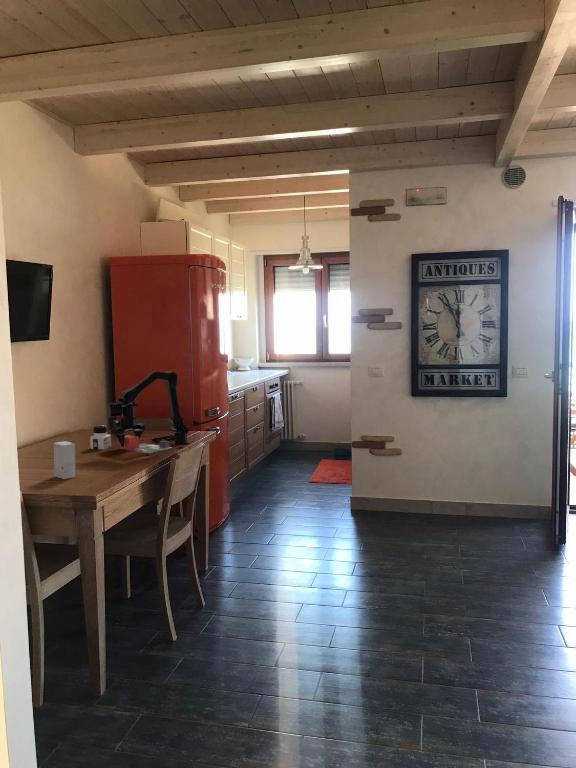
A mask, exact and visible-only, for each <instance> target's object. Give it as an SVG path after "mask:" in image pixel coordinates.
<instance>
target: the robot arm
mask: <svg viewBox="0 0 576 768" xmlns="http://www.w3.org/2000/svg"><path fill="white" fill-rule="evenodd" d="M157 379H158V380H162V381H163V384H164V386H165V388H166V390H167V397H168V403H169V410H170V417H167V422H168V426H169V428H170V429H171V430H172V432H173V433H174V436H173V437H174V439H173V440H174V441H173V443H172V445H179V446H184V445H187V444H190V441H188V434H189V431H190V429H189V428H188V427H187V426H186V425H185V422H184V419H183V417H182V415H181V413H180V407H179V400H178V393H177V385H178V375H177V373H176V372H173V371H164V372H161V371H158V370H153V371H151V372H150V373H148V374H147V375H146V376H145V377H144V378H142V379H141V380H140V381H138V382H137V383H136V384H134V385H133V386H131V387H129V388H126V389H125V390H123V391H122V392H120V394H119V395H120V397H119V398H118V400H117V401H116V403H107V408H106V415H107V417H108V418H117V417H120V420H113V421H112V427H113V428H111V429H110V435H111V434H112V435H113V436H115V437H116V438H117V440H118V442H119V445H120V444H121V447H124V440H125V436H126V434H125V432H129V431H133V433H134V436H139V440H140V439H141V437H142V435H143V433H144V432H145V430H147V426H146V424H145V423H135V420H137V417H136V416H135V407H138V406H139V405H138V404H137V403H136V402H135V400H136V399H137V398H138V397H139V394H140V393H141V392H142V391H144V389H145V390H146V388H148V386H150V385H152V383H154V382H155V381H156V380H157ZM121 416H122V417H121Z"/></svg>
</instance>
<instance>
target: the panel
mask: <svg viewBox="0 0 576 768" xmlns="http://www.w3.org/2000/svg"><path fill="white" fill-rule="evenodd" d="M125 450H126V449H123V451H125ZM126 451H127V450H126ZM130 451H131V452H138V453H143V454H145V455H144V456H145V457H151V456H155V455H161V454H164V453H169V452H173V451H174V448H173V447H172V446H169V447H167V448H162V447H160V444H149V443H139V448H135V449H132V450H130Z"/></svg>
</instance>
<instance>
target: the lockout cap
mask: <svg viewBox="0 0 576 768" xmlns="http://www.w3.org/2000/svg"><path fill="white" fill-rule="evenodd" d="M139 441H140V439H139V436H135V435H130V434H127V435H125V440H124V447H121V444H120V443H119V449H120V450H124V449H126V451H131V450H132V449H135V448H139V444H140V442H139Z"/></svg>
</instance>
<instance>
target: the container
mask: <svg viewBox="0 0 576 768" xmlns="http://www.w3.org/2000/svg"><path fill="white" fill-rule="evenodd" d="M107 431H108V429H107V426H106V425H103V424H100V425H99V424H98V425H95V426H93V435H92V436H90V437H89V442H90V443H89V444H90V449H91V450H106V449H108V448H110V447H112V438H111V436H112V435H111V434H108V432H107Z"/></svg>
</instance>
